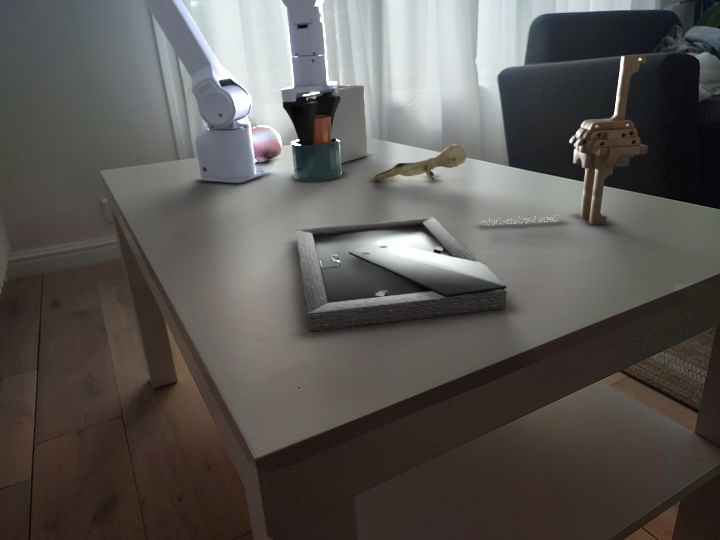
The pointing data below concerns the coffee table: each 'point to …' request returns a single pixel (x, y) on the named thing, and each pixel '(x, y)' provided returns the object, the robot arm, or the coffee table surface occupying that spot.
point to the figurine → (427, 164)
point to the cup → (322, 129)
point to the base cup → (317, 161)
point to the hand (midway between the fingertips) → (315, 142)
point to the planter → (350, 122)
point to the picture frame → (390, 274)
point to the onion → (265, 143)
